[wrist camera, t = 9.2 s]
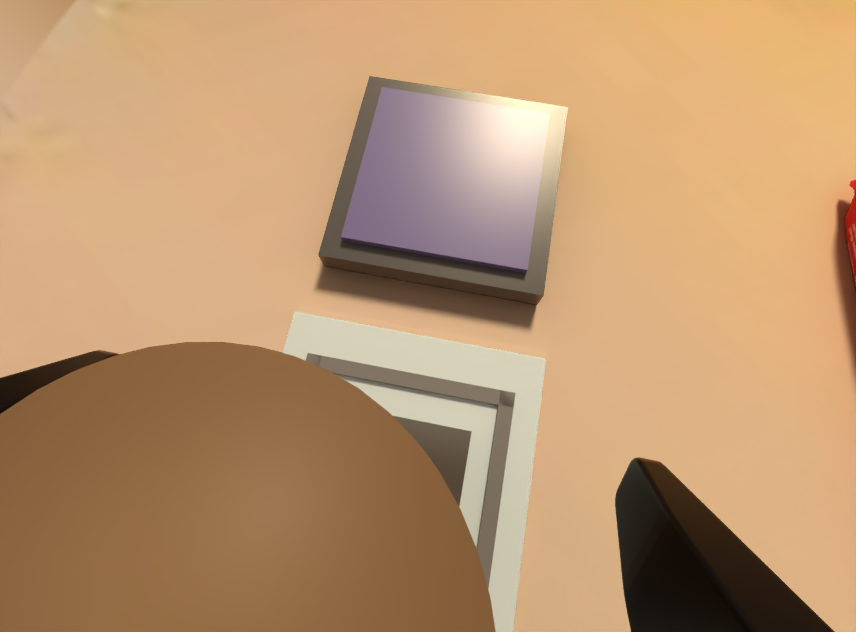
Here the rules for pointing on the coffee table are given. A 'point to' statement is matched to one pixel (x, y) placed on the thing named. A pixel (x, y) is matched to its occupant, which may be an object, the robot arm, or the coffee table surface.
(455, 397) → the print card
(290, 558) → the wooden handle on base
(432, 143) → the ink pad
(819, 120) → the coffee table surface
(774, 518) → the coffee table surface
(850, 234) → the candy bar
